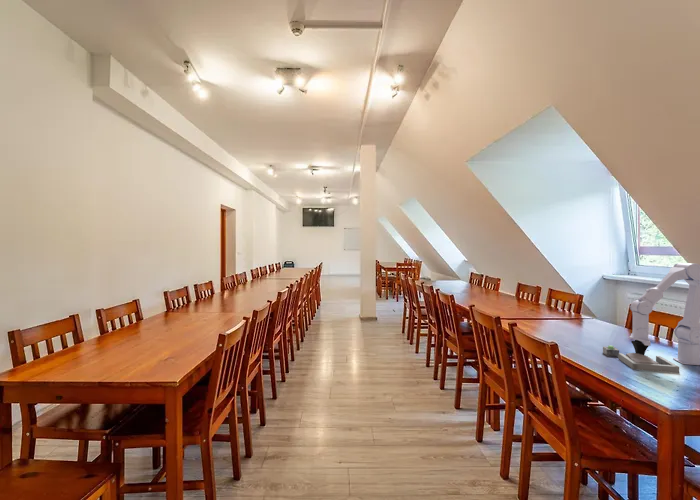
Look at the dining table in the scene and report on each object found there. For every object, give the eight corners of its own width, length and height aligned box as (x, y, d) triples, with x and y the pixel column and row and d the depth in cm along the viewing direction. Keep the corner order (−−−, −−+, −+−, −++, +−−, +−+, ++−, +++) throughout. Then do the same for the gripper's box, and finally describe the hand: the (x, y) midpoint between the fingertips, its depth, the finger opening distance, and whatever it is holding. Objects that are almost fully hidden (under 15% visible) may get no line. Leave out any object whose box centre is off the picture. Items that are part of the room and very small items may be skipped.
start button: (612, 354, 180) (612, 345, 180) (614, 355, 178) (614, 346, 178) (607, 353, 181) (607, 345, 181) (609, 354, 179) (609, 346, 179)
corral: (659, 361, 169) (660, 356, 169) (679, 373, 154) (679, 367, 154) (618, 358, 173) (618, 353, 173) (633, 369, 158) (633, 363, 158)
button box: (614, 353, 181) (614, 347, 181) (619, 356, 176) (619, 350, 176) (602, 352, 182) (602, 346, 182) (606, 355, 178) (606, 349, 178)
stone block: (648, 366, 169) (622, 359, 172) (651, 356, 168) (625, 349, 171) (661, 376, 157) (633, 369, 160) (664, 365, 157) (636, 358, 160)
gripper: (623, 323, 178) (622, 352, 178) (637, 330, 164) (636, 361, 164) (640, 324, 176) (640, 353, 176) (656, 331, 162) (656, 363, 162)
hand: (639, 357), depth 170 cm, fingers closed
